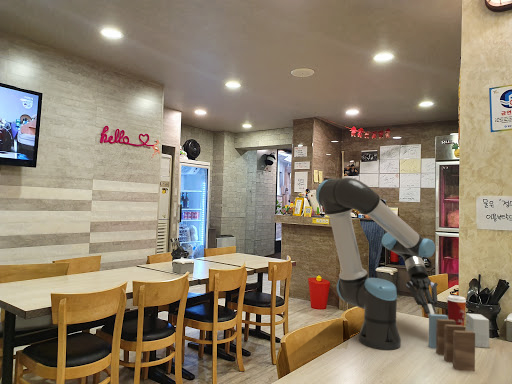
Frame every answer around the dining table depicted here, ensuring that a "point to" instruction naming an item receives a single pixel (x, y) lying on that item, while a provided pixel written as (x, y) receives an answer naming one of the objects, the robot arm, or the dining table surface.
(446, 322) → the domino
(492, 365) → the dining table surface
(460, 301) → the paper cup
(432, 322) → the blue domino
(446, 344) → the domino
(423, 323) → the dining table surface
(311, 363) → the dining table surface
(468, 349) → the domino
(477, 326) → the small box
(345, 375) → the dining table surface
